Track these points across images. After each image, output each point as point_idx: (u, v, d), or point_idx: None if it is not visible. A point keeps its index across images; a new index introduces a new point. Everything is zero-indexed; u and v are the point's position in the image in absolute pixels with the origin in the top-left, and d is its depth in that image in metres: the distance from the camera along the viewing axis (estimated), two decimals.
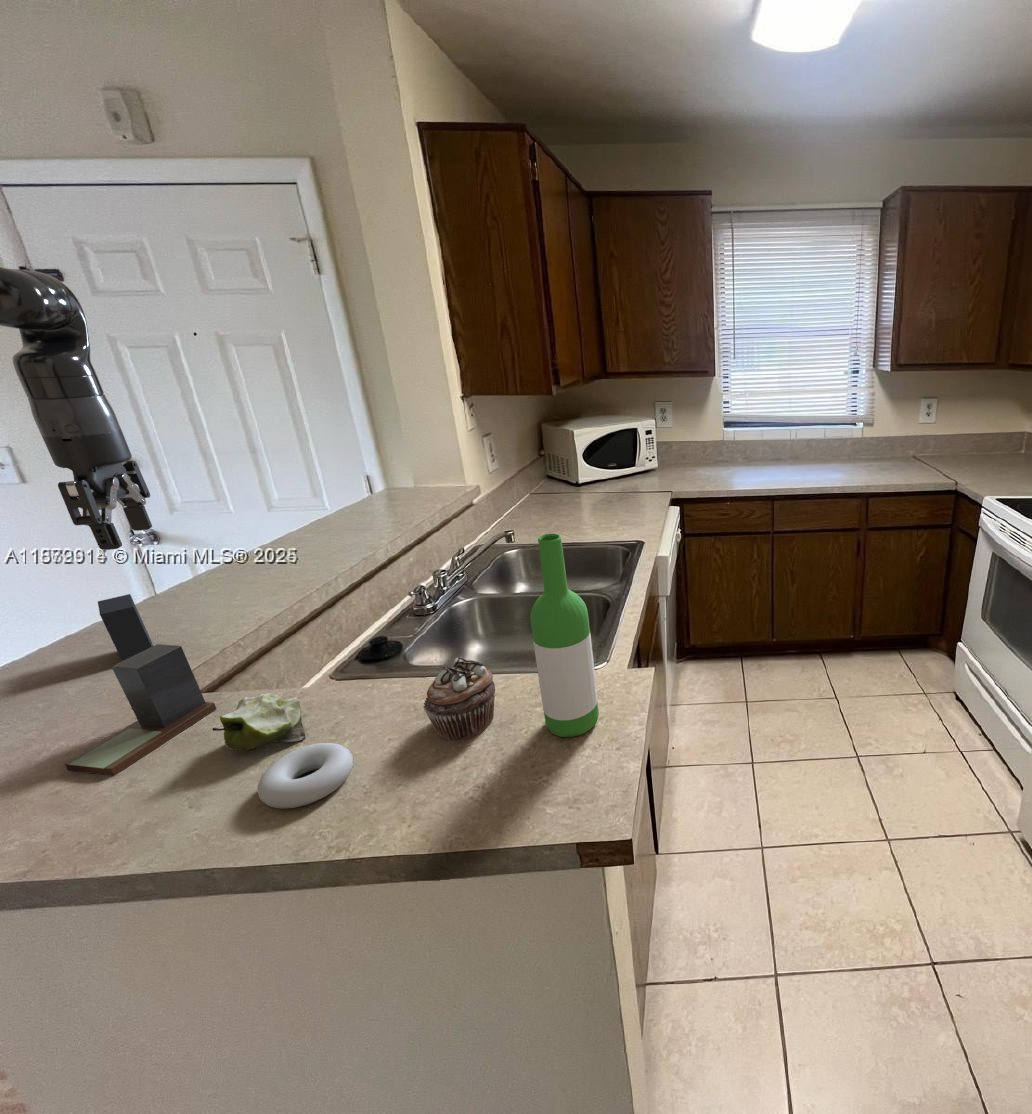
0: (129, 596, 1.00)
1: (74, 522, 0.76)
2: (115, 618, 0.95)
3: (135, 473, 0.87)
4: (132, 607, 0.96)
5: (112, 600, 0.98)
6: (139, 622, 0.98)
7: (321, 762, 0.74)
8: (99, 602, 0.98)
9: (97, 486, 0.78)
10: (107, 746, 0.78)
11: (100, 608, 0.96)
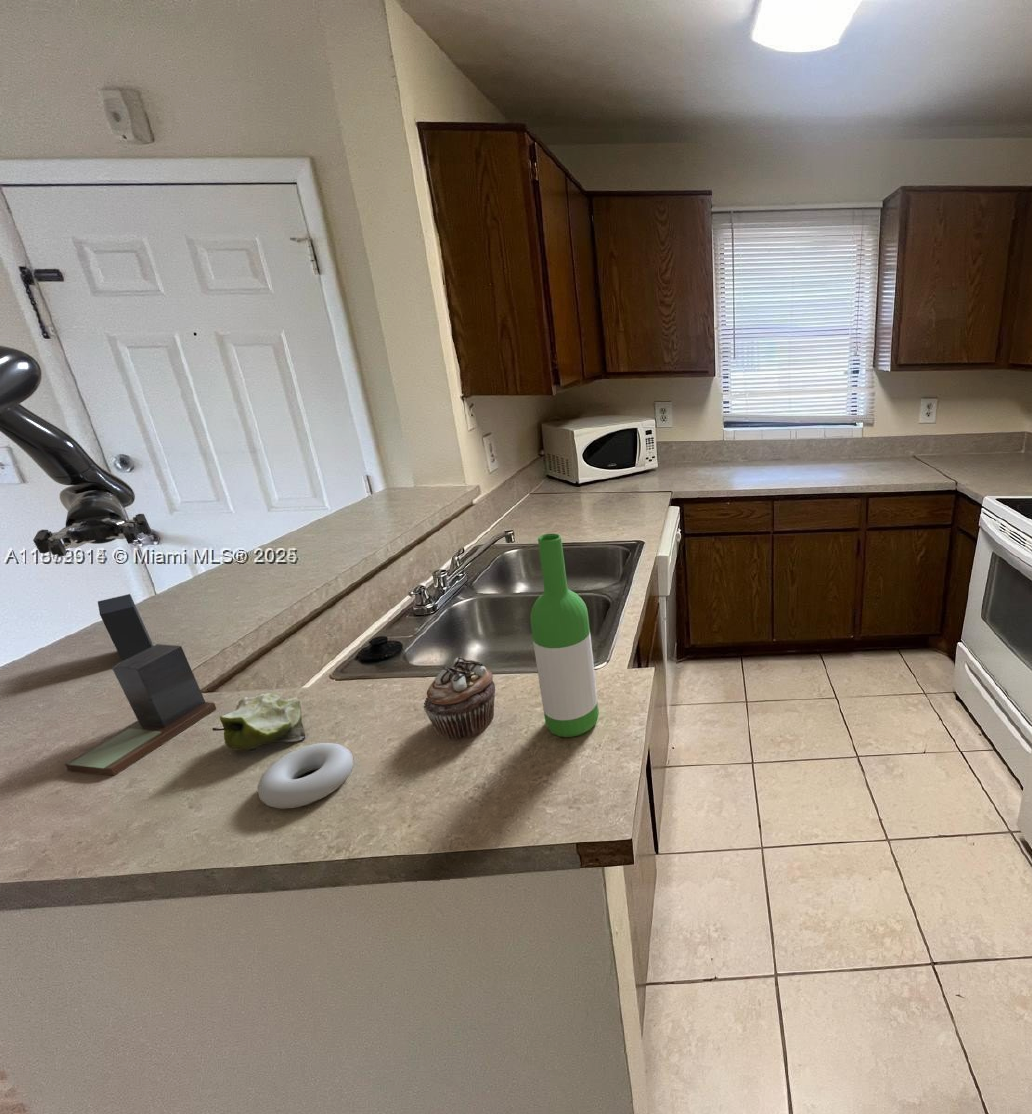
0: (129, 596, 1.00)
1: None
2: (115, 618, 0.95)
3: None
4: (132, 607, 0.96)
5: (112, 600, 0.98)
6: (139, 622, 0.98)
7: (321, 762, 0.74)
8: (99, 602, 0.98)
9: None
10: (107, 746, 0.78)
11: (100, 608, 0.96)
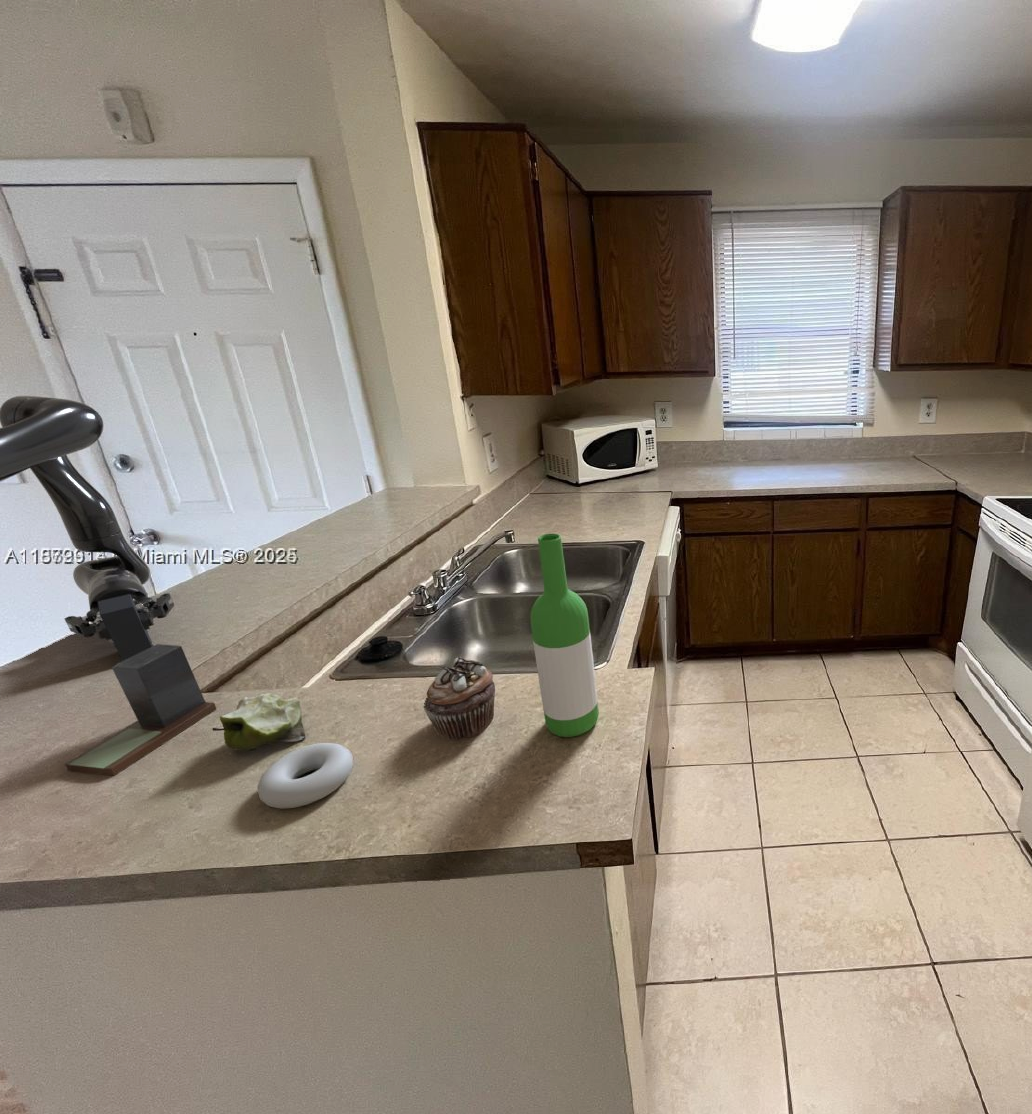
0: (129, 596, 1.00)
1: (161, 605, 1.03)
2: (115, 618, 0.95)
3: None
4: (132, 607, 0.96)
5: (112, 600, 0.98)
6: (139, 622, 0.98)
7: (321, 762, 0.74)
8: (99, 602, 0.98)
9: None
10: (107, 746, 0.78)
11: (100, 608, 0.96)
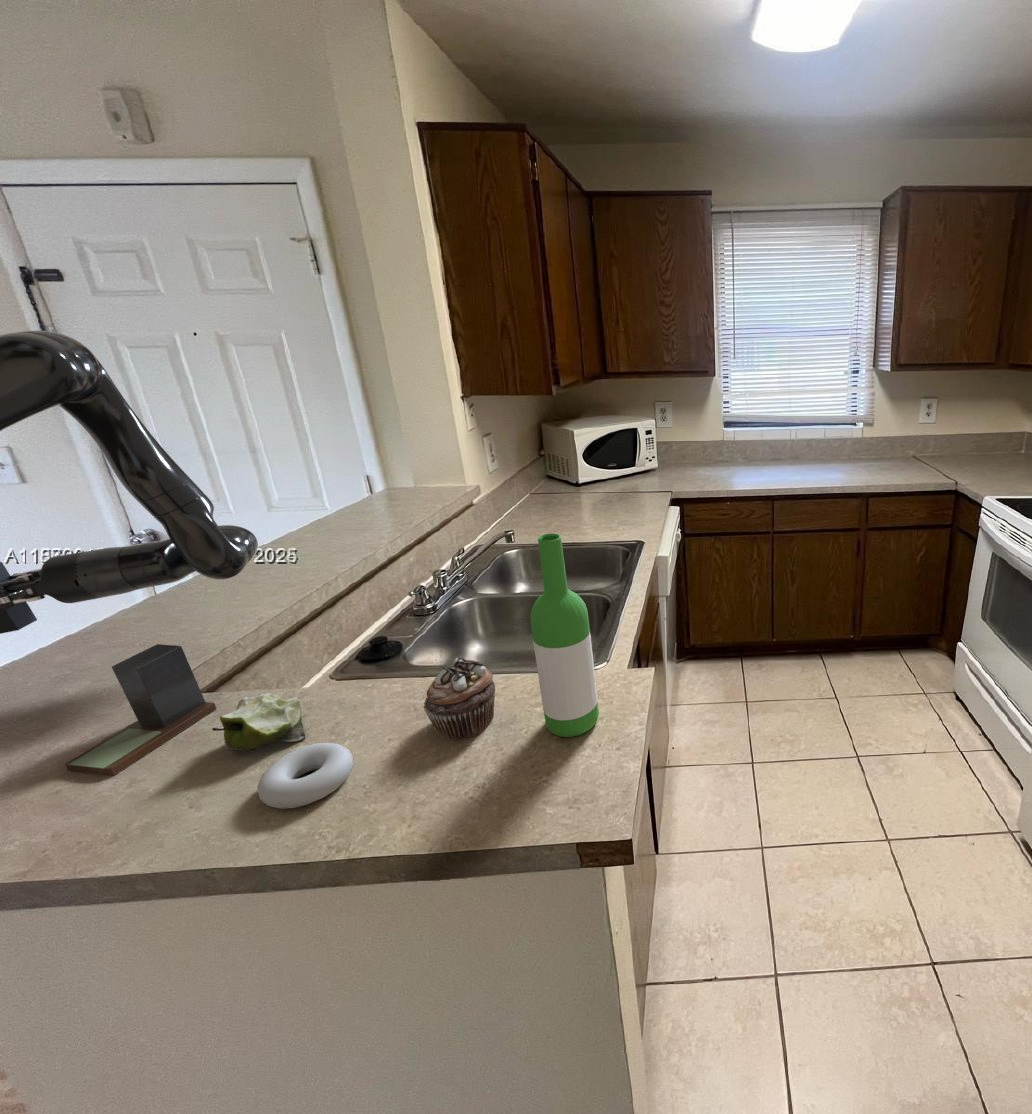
0: None
1: None
2: None
3: None
4: None
5: None
6: None
7: (321, 762, 0.74)
8: None
9: (24, 599, 0.84)
10: (107, 746, 0.78)
11: None
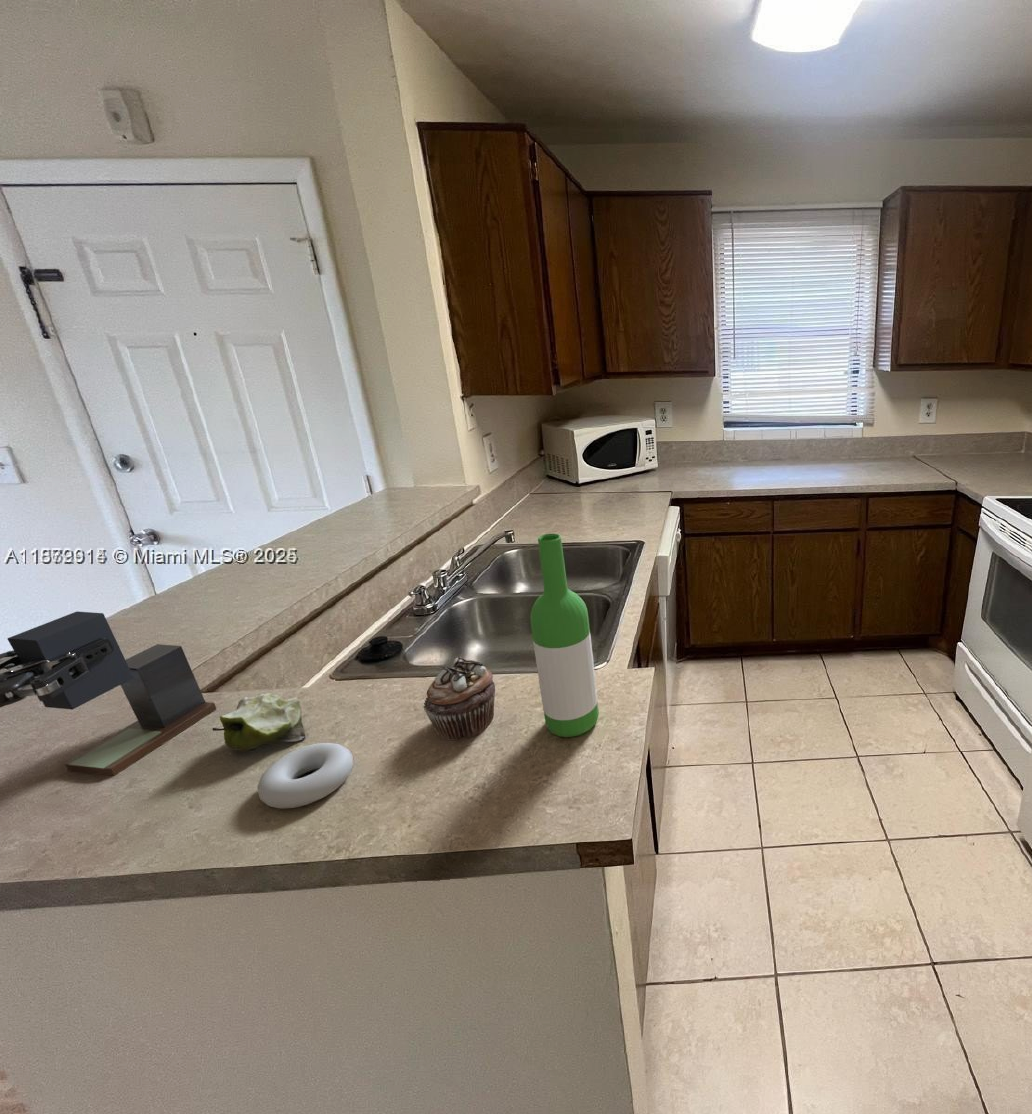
0: (22, 632, 0.69)
1: None
2: None
3: None
4: (78, 612, 0.74)
5: (35, 634, 0.68)
6: None
7: (321, 762, 0.74)
8: (43, 636, 0.68)
9: None
10: (107, 746, 0.78)
11: (75, 623, 0.71)
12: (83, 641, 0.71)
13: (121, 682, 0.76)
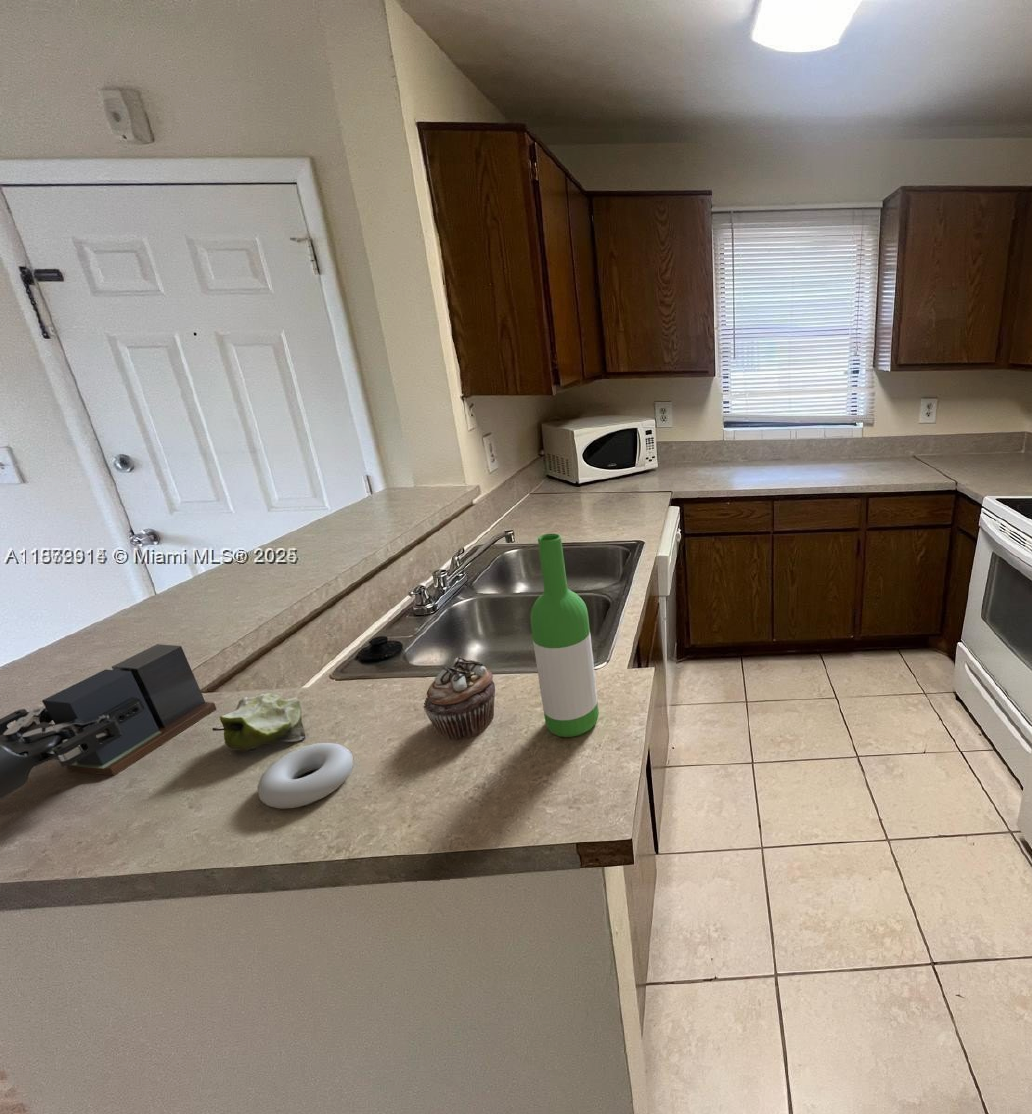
0: (56, 693, 0.72)
1: None
2: None
3: None
4: (106, 670, 0.77)
5: (68, 696, 0.72)
6: None
7: (321, 762, 0.74)
8: (75, 698, 0.71)
9: None
10: None
11: (105, 683, 0.74)
12: (112, 699, 0.75)
13: (147, 735, 0.79)
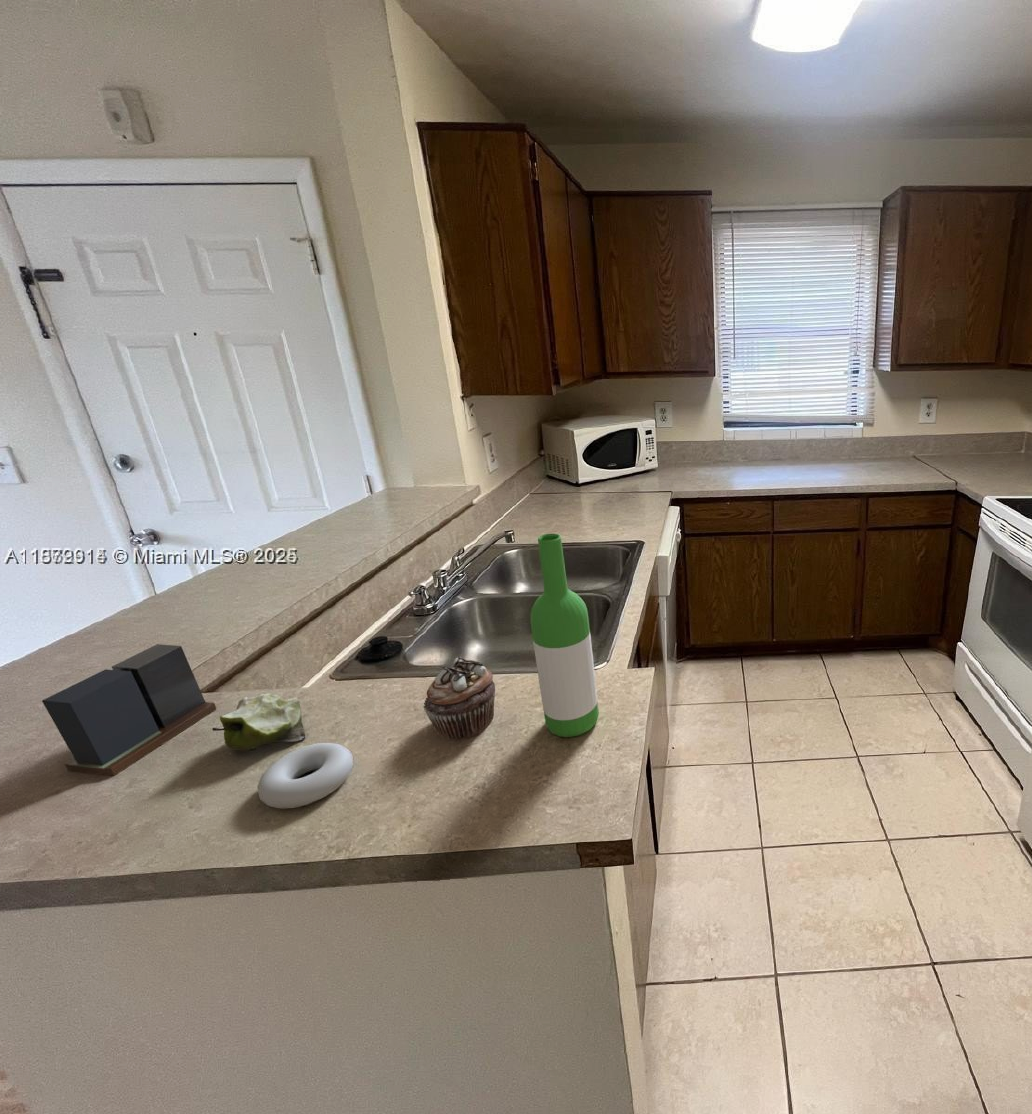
0: (56, 693, 0.72)
1: None
2: None
3: None
4: (106, 670, 0.77)
5: (68, 696, 0.72)
6: None
7: (321, 762, 0.74)
8: (75, 698, 0.71)
9: None
10: None
11: (105, 683, 0.74)
12: (112, 699, 0.75)
13: (147, 735, 0.79)
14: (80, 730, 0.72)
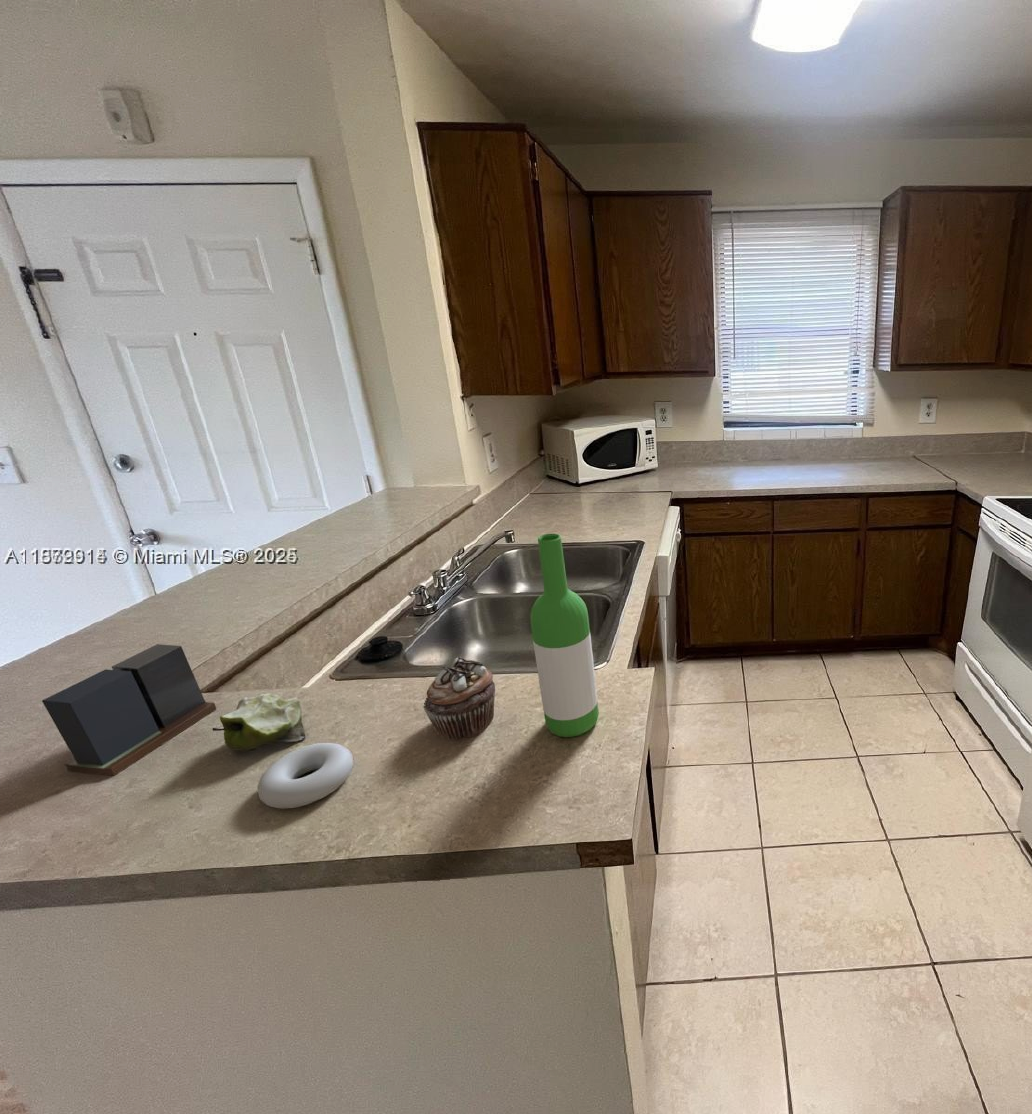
0: (56, 693, 0.72)
1: None
2: None
3: None
4: (106, 670, 0.77)
5: (68, 696, 0.72)
6: None
7: (321, 762, 0.74)
8: (75, 698, 0.71)
9: None
10: None
11: (105, 683, 0.74)
12: (112, 699, 0.75)
13: (147, 735, 0.79)
14: (80, 730, 0.72)
